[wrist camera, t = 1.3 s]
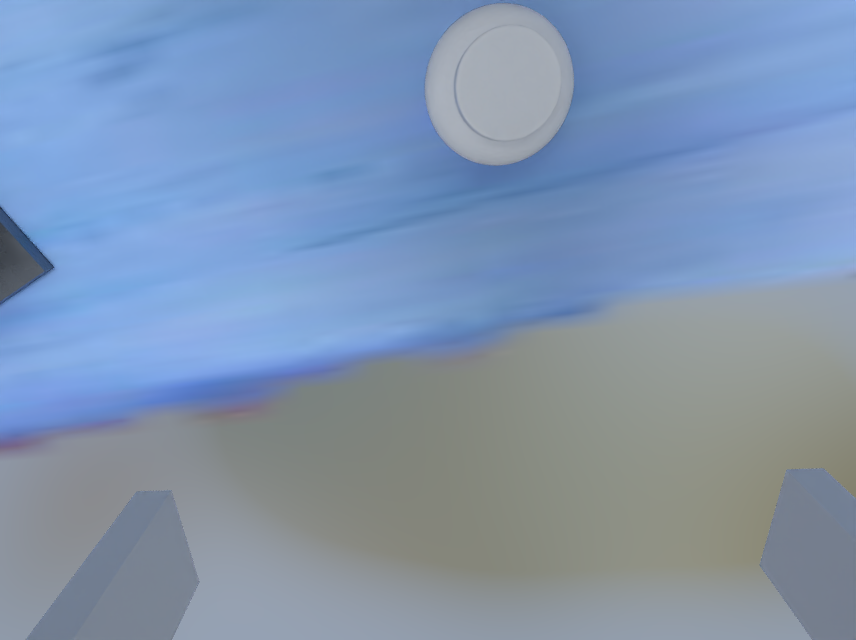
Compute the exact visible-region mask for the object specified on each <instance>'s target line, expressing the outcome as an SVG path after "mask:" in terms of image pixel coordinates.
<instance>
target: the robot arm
mask: <svg viewBox="0 0 856 640" xmlns="http://www.w3.org/2000/svg"><path fill="white" fill-rule="evenodd" d="M760 567H761V568H762V569H763V571H764V572H765V574H766V575H767V577H768V578H769V579H770V581H771V582H772V583H773V585H774V586H775V588H776V589H777V590H778V592H779V593H780V595H781V596H782V598H783V599H784V601H785V602H786V603H787V605H788V606H789V607H790V609H791V610H792V612H793V613H794V615H795V616H796V617H797V619H798V620H799V622H800V623H801V624H802V626H803V627H804V629H805V630H806V632H807V633H808V634H809V636H810V637H811V639H812V640H856V498H855V497H853V496H852V495H851V494H850V493H849V492H848V491H847V490H846V489H845V488H844V487H843V486H842V485H841V484H840V483H839V482H837V481H836V480H835V479H834V478H833V477H832V476H831V475H830V474H829V473H828V472H827V471H826V470H825V469H823V468H819V469H791V470H786V473H785V477H784V481H783V484H782V488H781V491H780V495H779V498H778V502H777V505H776V509H775V513H774V516H773V519H772V523H771V527H770V530H769V534H768V537H767V541H766V544H765V548H764V551H763V555H762V558H761V562H760ZM198 584H199V579H198V576H197V572H196V569H195V566H194V563H193V559H192V556H191V553H190V549H189V546H188V543H187V539H186V536H185V533H184V530H183V526H182V523H181V520H180V516H179V513H178V510H177V507H176V503H175V500H174V497H173V493H172V491H171V490H167V491H138V492H136V493H135V494H134V496H133V497H132V498H131V500H130V501H129V502H128V504H127V505H126V506H125V508H124V509H123V510H122V512H121V513H120V514H119V516H118V517H117V518H116V520H115V521H114V522H113V524H112V525H111V526H110V528H109V529H108V530H107V532H106V533H105V535H104V536H103V537H102V539H101V540H100V541H99V542H98V544H97V545H96V546H95V548H94V549H93V550H92V552H91V553H90V554H89V556H88V557H87V558H86V560H85V561H84V562H83V564H82V565H81V567H80V568H79V569H78V570H77V572H76V573H75V574H74V576H73V577H72V578H71V580H70V581H69V583H68V584H67V585H66V586H65V588H64V589H63V590H62V592H61V593H60V594H59V596H58V597H57V598H56V600H55V601H54V603H53V604H52V605H51V607H50V608H49V609H48V611H47V612H46V613H45V615H44V616H43V617H42V619H41V620H40V621H39V623H38V624H37V625H36V627H35V628H34V629H33V631H32V632H31V633H30V635H29V636H28V637H27V639H26V640H172V638H173V636H174V634H175V632H176V630H177V628H178V626H179V624H180V622H181V620H182V618H183V616H184V613H185V611H186V609H187V607H188V605H189V603H190V601H191V599H192V597H193V595H194V592H195V590H196V588H197V586H198Z"/></svg>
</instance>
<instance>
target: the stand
mask: <svg viewBox="0 0 856 640" xmlns="http://www.w3.org/2000/svg"><path fill="white" fill-rule="evenodd" d="M52 268H53V266H52V265H51V264H50V263H49V261H48V260H47V259H46V258H45V257H44V256H43V255H42V254H41V253H40V251H39V250H38V249H37V248H36V247H35V246H34V245H33V244H32V243H31V241H30V240H29V239H28V238H27V237H26V236H25V235H24V234H23V232H22V231H21V230H20V229H19V228H18V227H17V226H16V225H15V224H14V222H13V221H12V220H11V219H10V218H9V217H8V216H7V215H6V214H5V212H4V211H3V210H2V209H1V208H0V304H1V303H2V302H4V301H5V300H7V299H8V298H9V297H11V296H12V295H14V294H15V293H17V292H18V291H20V290H21V289H23V288H24V287H26V286H27V285H29V284H30V283H31V282H33V281H34V280H36V279H37V278H39V277H40V276H42V275H43V274H45V273H46V272H48V271H49V270H51V269H52Z"/></svg>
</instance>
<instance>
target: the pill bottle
mask: <svg viewBox="0 0 856 640" xmlns="http://www.w3.org/2000/svg"><path fill="white" fill-rule="evenodd" d="M573 90H574V73H573V66H572V60H571V57H570V53H569V50H568V48H567V45H566V43H565V41H564V39H563V38H562V36H561V35H560V33H559V32H558V30H557V29H556V28H555V27H554V26H553V25H552V24H551V23H550V22H549V21H548V20H547V19H546V18H545V17H544V16H542V15H541V14H539V13H538V12H536V11H534V10H532V9H530V8H527V7H524V6H521V5H518V4H511V3H496V4H490V5H485V6H482V7H479V8H476V9H474V10H472V11H470V12H468V13H466V14H465V15H463V16H462V17H460V18H459V19H458V20H457V21H455V22H454V23H453V24H452V25H451V26H450V27H449V28H448V29H447V30H446V32H445V33H444V34H443V35H442V37H441V38H440V40H439V41H438V43H437V45H436V46H435V48H434V50H433V52H432V55H431V57H430V60H429V63H428V67H427V72H426V77H425V100H426V106H427V110H428V114H429V117H430V120H431V122H432V124H433V126H434V128H435V130H436V132H437V133H438V135H439V136H440V137H441V139H442V140H443V141H444V142H445V143H446V144H447V145H448V146H449V147H450V148H451V149H452V150H453V151H454V152H456V153H457V154H459V155H460V156H462V157H464V158H466V159H468V160H470V161H473V162H475V163H479V164H484V165H494V166H497V165H508V164H512V163H516V162H519V161H522V160H524V159H526V158H528V157H530V156H532V155H533V154H535V153H537V152H538V151H539V150H541V149H542V148H543V147H544V146H545V145H546V144H547V143H548V142H549V141H550V140H551V139H552V138H553V137H554V136H555V134H556V133H557V132H558V130H559V129H560V127H561V126H562V124H563V122H564V120H565V118H566V116H567V113H568V111H569V108H570V105H571V101H572V96H573Z"/></svg>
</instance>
